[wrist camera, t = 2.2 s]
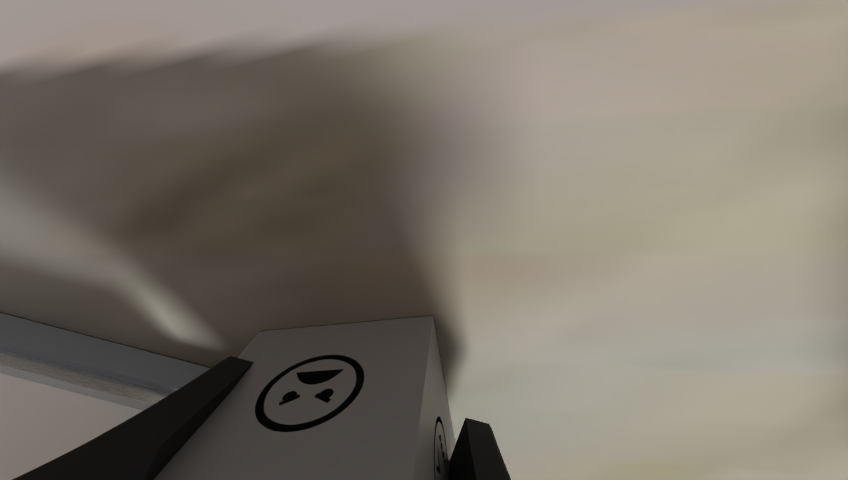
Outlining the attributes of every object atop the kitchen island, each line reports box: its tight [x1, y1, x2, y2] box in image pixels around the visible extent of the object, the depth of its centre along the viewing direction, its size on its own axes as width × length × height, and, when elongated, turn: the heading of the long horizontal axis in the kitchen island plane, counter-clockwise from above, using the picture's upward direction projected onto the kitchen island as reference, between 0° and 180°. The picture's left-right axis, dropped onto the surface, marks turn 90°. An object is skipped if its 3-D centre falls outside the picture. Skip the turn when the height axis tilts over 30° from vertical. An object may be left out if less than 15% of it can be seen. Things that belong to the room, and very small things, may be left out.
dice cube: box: [154, 316, 455, 480], centre depth 9 cm, size 5×5×5 cm
